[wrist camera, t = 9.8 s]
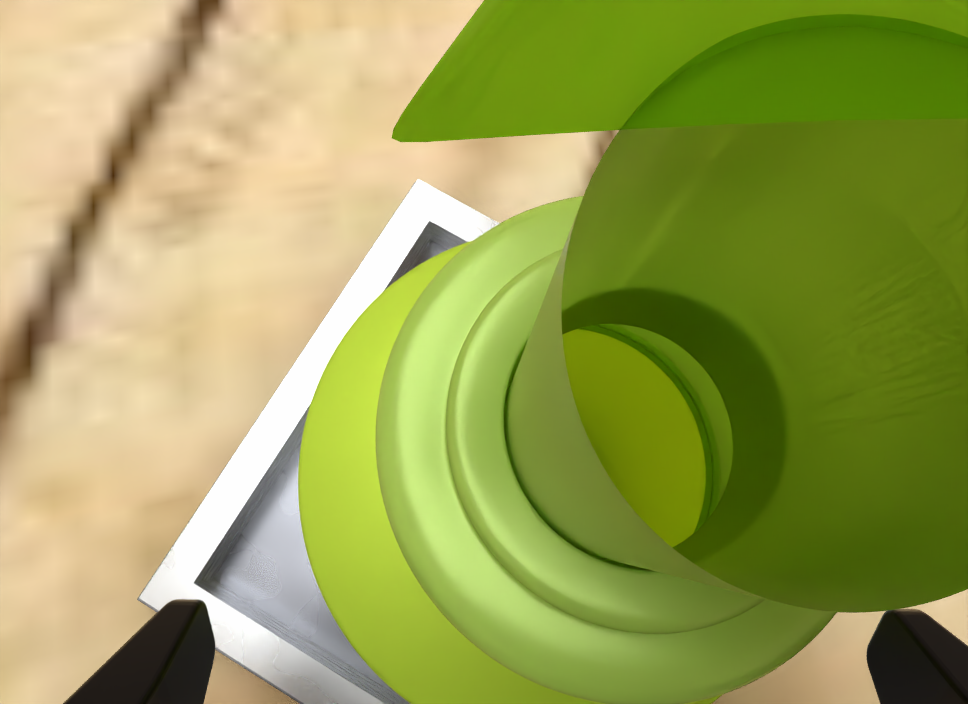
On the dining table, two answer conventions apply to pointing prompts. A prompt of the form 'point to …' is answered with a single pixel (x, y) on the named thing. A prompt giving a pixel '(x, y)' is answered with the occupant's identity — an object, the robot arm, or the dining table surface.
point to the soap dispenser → (662, 359)
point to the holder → (295, 498)
